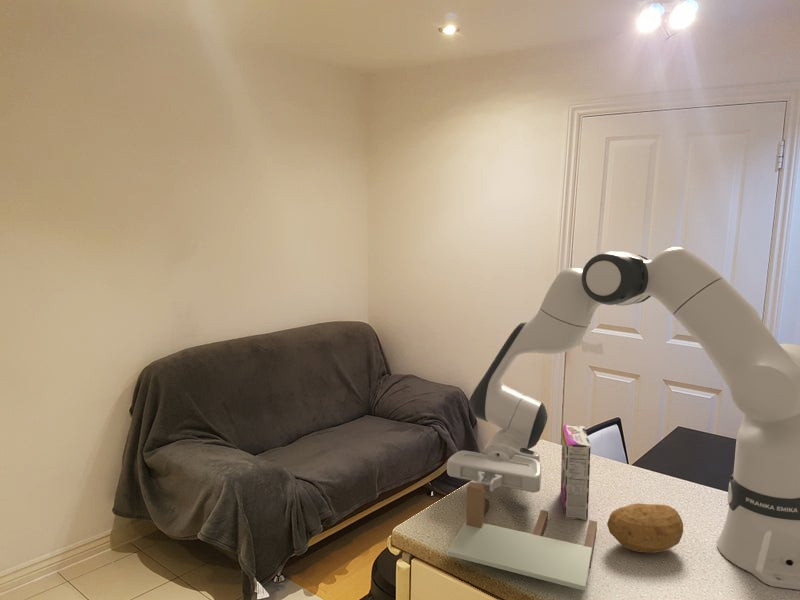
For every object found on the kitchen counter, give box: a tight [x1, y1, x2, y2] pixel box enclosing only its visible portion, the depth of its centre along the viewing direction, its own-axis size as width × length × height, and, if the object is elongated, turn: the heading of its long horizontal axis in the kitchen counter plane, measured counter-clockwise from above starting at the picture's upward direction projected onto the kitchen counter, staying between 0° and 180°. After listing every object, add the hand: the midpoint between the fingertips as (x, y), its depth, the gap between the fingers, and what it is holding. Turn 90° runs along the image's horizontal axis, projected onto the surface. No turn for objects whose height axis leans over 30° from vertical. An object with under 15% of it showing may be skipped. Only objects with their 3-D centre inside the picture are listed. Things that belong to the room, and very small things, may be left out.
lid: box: [447, 481, 592, 592], centre depth 98 cm, size 24×12×9 cm, turn 66°
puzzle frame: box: [484, 497, 598, 569], centre depth 108 cm, size 24×13×2 cm, turn 66°
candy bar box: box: [560, 424, 591, 521], centre depth 118 cm, size 11×5×16 cm, turn 168°
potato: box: [606, 502, 684, 553], centre depth 103 cm, size 10×14×8 cm
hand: (484, 486), depth 112 cm, fingers closed
